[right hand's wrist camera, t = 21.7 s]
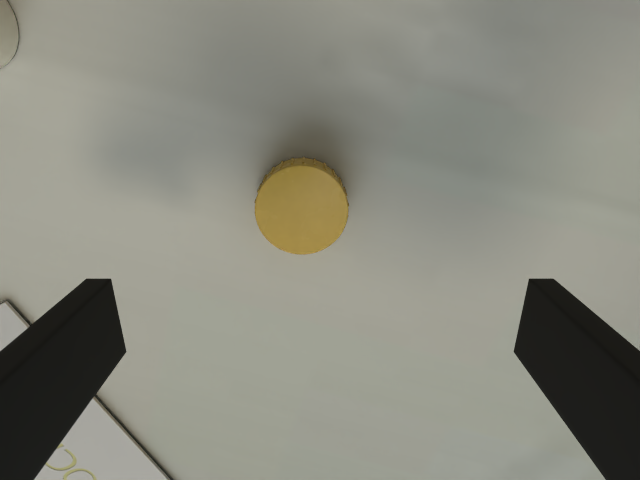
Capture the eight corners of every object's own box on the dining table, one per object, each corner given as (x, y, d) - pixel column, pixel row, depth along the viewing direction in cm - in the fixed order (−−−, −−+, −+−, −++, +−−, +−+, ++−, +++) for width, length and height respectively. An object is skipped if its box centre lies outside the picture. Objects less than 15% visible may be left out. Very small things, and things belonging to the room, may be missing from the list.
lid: (297, 256, 25) (296, 272, 23) (239, 194, 24) (233, 205, 22) (363, 206, 24) (368, 218, 22) (308, 137, 22) (307, 143, 20)
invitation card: (190, 505, 33) (43, 561, 35) (191, 502, 33) (45, 558, 35) (3, 303, 25) (-169, 390, 27) (7, 300, 26) (-165, 387, 28)
